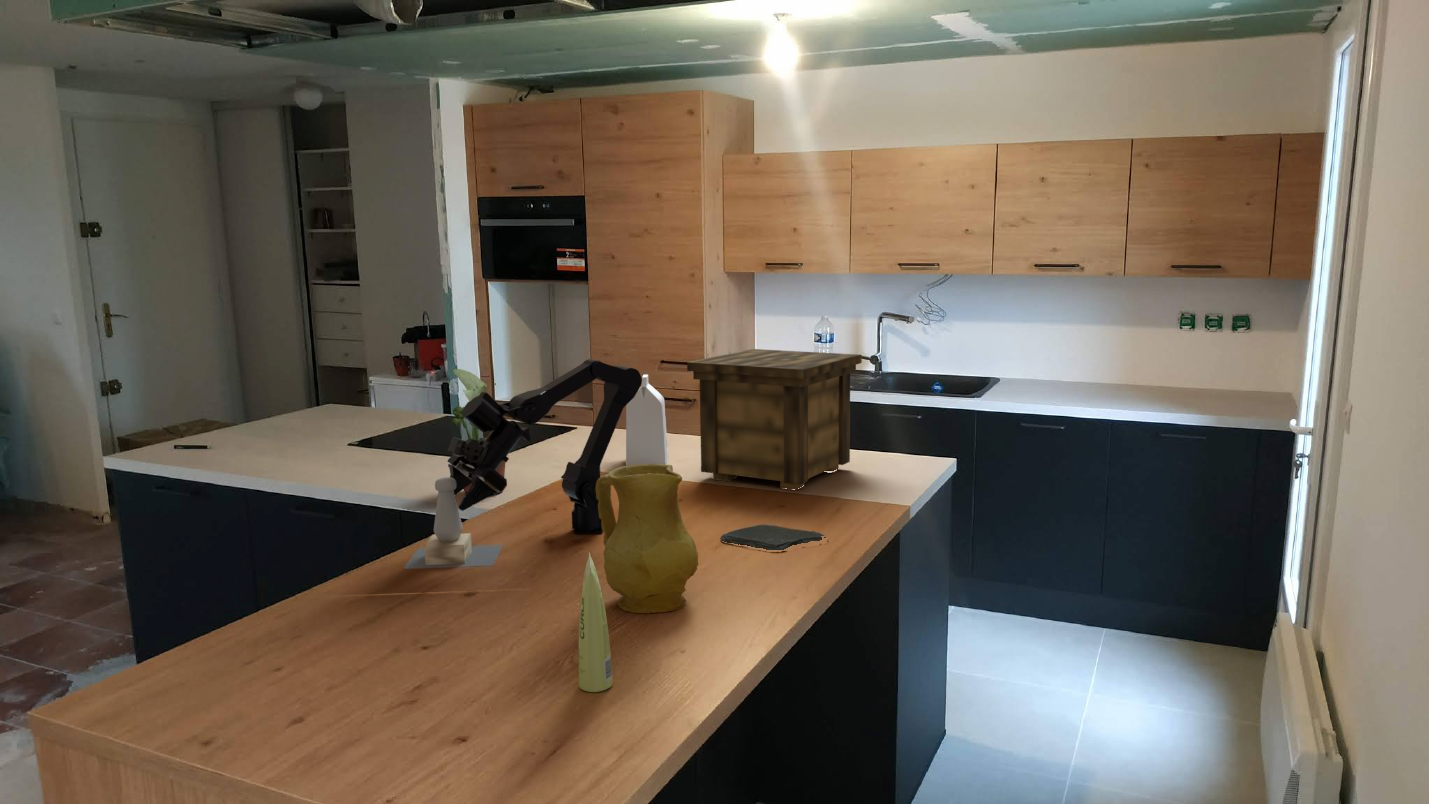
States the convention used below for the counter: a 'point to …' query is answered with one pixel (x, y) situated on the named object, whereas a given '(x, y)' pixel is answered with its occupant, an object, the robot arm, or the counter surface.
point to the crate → (774, 414)
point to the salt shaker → (447, 511)
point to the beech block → (448, 550)
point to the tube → (593, 636)
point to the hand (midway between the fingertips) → (451, 504)
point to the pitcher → (645, 538)
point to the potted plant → (473, 390)
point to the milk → (646, 427)
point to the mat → (477, 558)
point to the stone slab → (770, 537)
